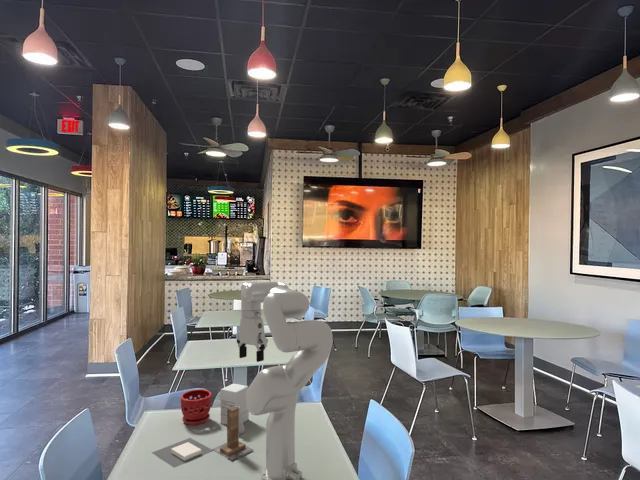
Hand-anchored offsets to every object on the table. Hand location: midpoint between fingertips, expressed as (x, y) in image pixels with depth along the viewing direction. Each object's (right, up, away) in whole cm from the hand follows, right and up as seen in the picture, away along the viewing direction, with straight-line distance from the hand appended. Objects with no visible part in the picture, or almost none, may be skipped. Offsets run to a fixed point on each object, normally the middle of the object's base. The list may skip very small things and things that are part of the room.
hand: (251, 359), depth 159 cm
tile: (-27, -32, -3) cm, 42 cm away
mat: (-25, -34, -4) cm, 42 cm away
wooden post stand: (-7, -33, -3) cm, 34 cm away
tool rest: (-7, -34, -3) cm, 34 cm away
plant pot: (-28, -35, +24) cm, 51 cm away
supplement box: (-11, -35, +24) cm, 43 cm away
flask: (-8, -34, +13) cm, 38 cm away
